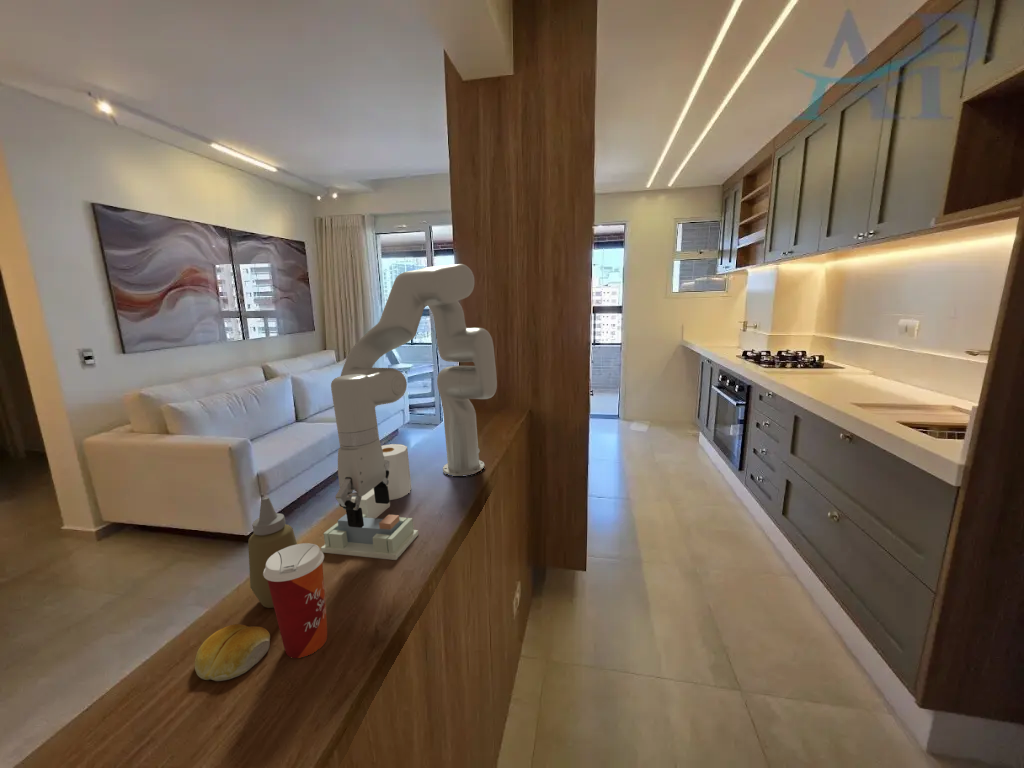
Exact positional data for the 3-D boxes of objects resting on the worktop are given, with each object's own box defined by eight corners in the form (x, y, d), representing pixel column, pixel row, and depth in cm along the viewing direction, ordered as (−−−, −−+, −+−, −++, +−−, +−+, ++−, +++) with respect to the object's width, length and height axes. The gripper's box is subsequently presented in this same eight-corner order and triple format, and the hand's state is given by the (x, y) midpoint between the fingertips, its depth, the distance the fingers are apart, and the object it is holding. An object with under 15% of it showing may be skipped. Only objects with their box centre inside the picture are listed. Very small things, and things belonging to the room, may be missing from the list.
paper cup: (331, 656, 58) (318, 564, 56) (270, 671, 56) (254, 577, 54) (338, 618, 66) (326, 536, 63) (284, 630, 63) (270, 546, 61)
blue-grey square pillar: (351, 531, 90) (349, 511, 90) (401, 535, 87) (399, 514, 87) (340, 541, 87) (337, 520, 86) (392, 545, 84) (389, 524, 83)
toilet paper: (387, 483, 119) (382, 442, 117) (418, 486, 115) (414, 444, 113) (363, 498, 109) (358, 454, 107) (397, 502, 106) (392, 457, 104)
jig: (349, 528, 94) (347, 512, 93) (418, 534, 90) (416, 517, 89) (321, 552, 85) (318, 534, 84) (396, 560, 80) (394, 541, 80)
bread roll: (233, 633, 64) (228, 610, 63) (281, 641, 62) (277, 617, 61) (179, 678, 56) (173, 652, 55) (232, 690, 54) (226, 663, 53)
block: (374, 505, 105) (371, 482, 104) (390, 506, 104) (387, 483, 103) (352, 522, 97) (349, 498, 96) (369, 524, 96) (366, 499, 95)
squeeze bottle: (284, 616, 67) (267, 511, 64) (242, 611, 68) (223, 509, 65) (317, 583, 74) (303, 489, 71) (278, 580, 76) (263, 487, 73)
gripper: (367, 423, 93) (377, 494, 96) (313, 451, 76) (327, 535, 79) (397, 423, 91) (406, 495, 94) (348, 452, 74) (361, 538, 78)
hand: (370, 514), depth 87 cm, fingers open, 9 cm apart
